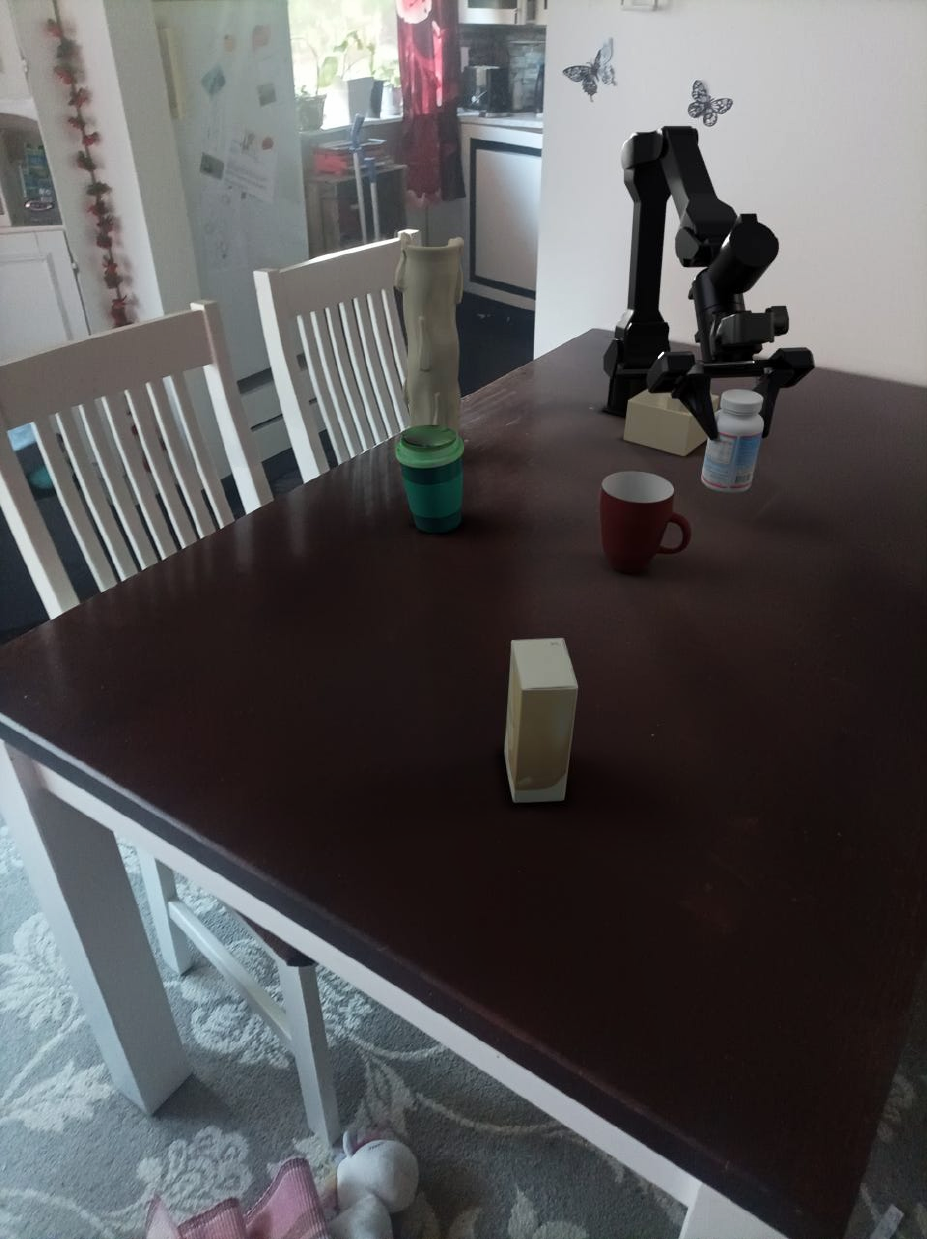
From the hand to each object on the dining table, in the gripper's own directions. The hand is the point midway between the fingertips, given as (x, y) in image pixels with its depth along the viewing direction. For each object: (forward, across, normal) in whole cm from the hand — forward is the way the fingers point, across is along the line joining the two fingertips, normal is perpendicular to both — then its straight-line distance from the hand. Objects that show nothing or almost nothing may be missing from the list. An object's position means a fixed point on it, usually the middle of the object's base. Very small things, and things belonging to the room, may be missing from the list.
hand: (739, 438), depth 102 cm
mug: (+14, -13, +3) cm, 20 cm away
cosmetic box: (+36, -32, -20) cm, 53 cm away
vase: (-10, -33, +27) cm, 44 cm away
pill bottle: (+4, 0, +6) cm, 7 cm away
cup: (+5, -36, +12) cm, 38 cm away
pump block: (-11, +3, +28) cm, 31 cm away
